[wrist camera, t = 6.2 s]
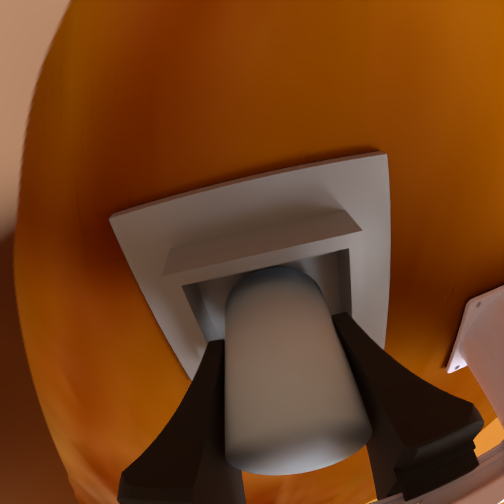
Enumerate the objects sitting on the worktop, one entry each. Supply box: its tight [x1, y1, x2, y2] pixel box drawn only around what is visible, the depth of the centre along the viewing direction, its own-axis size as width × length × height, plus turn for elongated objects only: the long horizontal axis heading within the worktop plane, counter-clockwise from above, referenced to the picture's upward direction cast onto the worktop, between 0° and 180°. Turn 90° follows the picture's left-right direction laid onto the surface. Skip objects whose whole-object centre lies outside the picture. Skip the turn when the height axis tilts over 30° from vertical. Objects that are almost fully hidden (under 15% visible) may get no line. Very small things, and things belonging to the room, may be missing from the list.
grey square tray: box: [109, 151, 391, 381], centre depth 14 cm, size 12×12×3 cm
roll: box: [225, 267, 372, 475], centre depth 11 cm, size 4×4×7 cm
